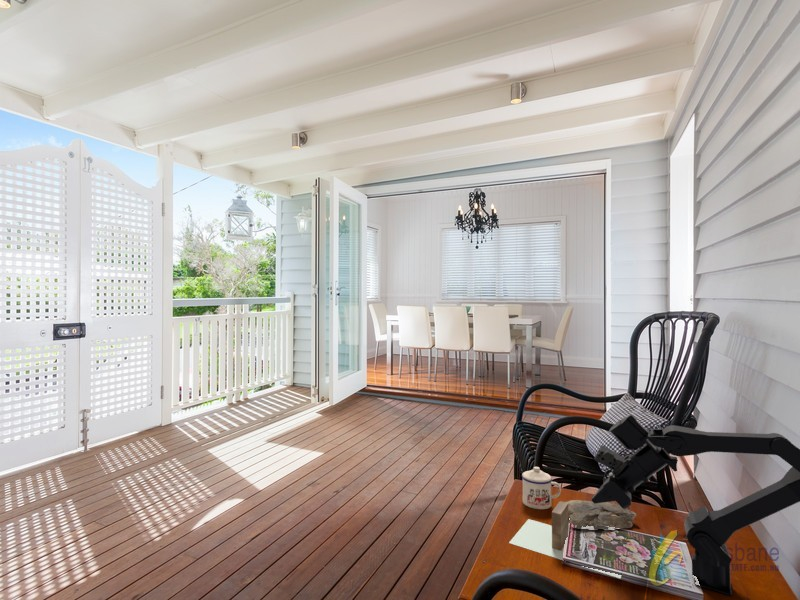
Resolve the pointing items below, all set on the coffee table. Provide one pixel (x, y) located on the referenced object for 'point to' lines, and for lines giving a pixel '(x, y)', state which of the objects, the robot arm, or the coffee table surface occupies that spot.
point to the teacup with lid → (538, 489)
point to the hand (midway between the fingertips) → (592, 501)
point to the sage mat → (541, 541)
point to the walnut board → (560, 525)
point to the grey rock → (599, 514)
